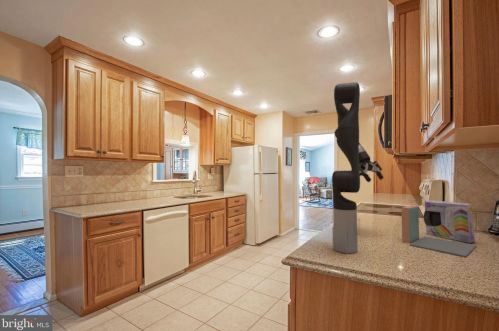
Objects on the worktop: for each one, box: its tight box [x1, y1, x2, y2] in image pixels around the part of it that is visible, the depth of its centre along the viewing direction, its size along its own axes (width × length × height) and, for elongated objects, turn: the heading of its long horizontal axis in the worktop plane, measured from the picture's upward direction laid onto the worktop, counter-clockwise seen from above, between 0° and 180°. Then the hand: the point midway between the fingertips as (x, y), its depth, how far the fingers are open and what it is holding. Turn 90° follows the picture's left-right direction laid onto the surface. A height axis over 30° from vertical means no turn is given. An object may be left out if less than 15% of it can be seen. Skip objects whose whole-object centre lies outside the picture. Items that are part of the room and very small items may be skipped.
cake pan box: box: [423, 200, 476, 244], centre depth 115 cm, size 19×5×18 cm, turn 23°
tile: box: [401, 204, 420, 244], centre depth 112 cm, size 12×3×16 cm, turn 128°
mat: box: [409, 235, 477, 258], centre depth 102 cm, size 20×18×1 cm
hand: (376, 180), depth 120 cm, fingers open, 8 cm apart
